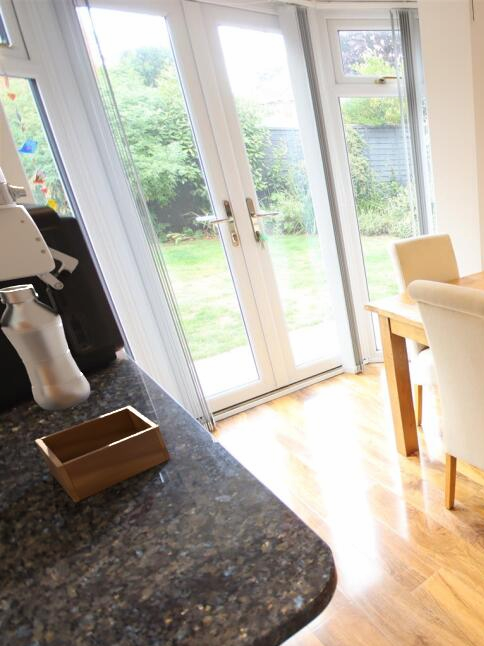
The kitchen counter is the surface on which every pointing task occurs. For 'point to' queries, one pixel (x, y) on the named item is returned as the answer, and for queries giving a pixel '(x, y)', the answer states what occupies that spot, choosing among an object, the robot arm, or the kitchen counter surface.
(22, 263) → the robot arm
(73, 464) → the holder
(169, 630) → the kitchen counter surface
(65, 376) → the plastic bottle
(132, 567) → the kitchen counter surface
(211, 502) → the kitchen counter surface
